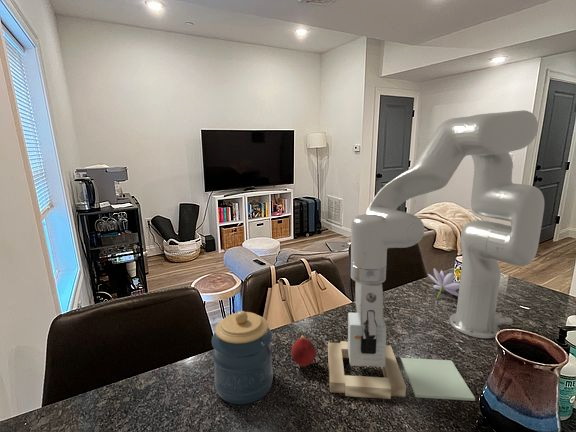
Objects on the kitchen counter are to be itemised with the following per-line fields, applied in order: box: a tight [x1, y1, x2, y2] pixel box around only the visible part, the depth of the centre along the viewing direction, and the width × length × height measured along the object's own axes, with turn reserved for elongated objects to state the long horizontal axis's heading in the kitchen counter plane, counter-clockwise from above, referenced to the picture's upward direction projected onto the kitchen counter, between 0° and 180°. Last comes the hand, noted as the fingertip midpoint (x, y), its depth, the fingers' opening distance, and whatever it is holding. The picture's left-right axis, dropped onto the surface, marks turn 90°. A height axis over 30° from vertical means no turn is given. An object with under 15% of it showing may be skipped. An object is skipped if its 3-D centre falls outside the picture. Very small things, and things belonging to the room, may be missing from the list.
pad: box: [400, 357, 476, 402], centre depth 72 cm, size 12×12×1 cm
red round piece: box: [290, 335, 317, 367], centre depth 76 cm, size 6×6×8 cm
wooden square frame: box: [327, 340, 407, 400], centre depth 74 cm, size 16×16×2 cm
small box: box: [347, 312, 387, 367], centre depth 73 cm, size 8×6×10 cm
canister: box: [211, 310, 274, 405], centre depth 69 cm, size 13×13×18 cm
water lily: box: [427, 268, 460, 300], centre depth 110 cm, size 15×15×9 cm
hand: (366, 343), depth 73 cm, fingers closed on small box, 5 cm apart
